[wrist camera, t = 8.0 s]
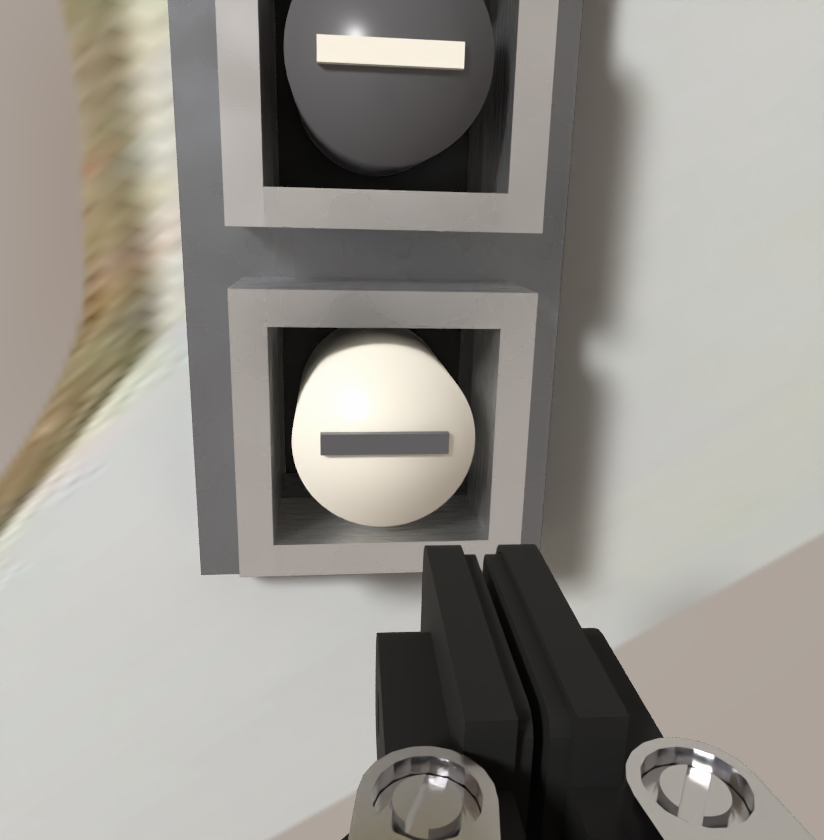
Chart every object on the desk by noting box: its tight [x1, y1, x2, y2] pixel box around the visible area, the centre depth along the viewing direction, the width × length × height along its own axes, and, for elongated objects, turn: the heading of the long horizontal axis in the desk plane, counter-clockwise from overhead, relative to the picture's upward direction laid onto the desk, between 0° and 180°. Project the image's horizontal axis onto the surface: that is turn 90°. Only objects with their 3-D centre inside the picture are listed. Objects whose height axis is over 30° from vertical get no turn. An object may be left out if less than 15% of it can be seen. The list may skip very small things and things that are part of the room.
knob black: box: [284, 0, 494, 176], centre depth 21 cm, size 5×5×6 cm
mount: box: [168, 0, 583, 577], centre depth 23 cm, size 12×22×6 cm, turn 179°
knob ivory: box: [292, 328, 475, 527], centre depth 24 cm, size 5×5×6 cm
